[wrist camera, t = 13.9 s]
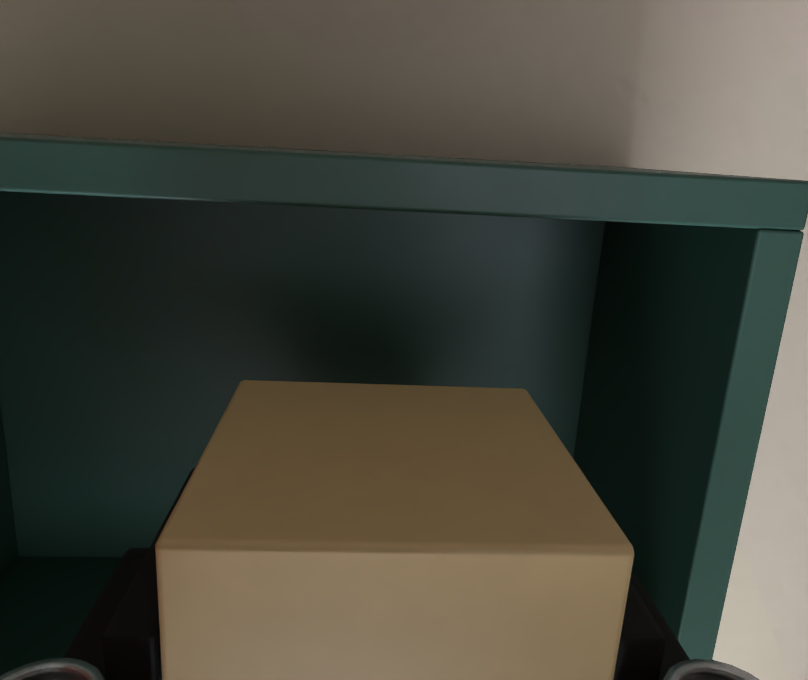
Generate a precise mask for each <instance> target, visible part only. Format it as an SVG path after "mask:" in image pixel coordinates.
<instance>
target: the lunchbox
mask: <svg viewBox="0 0 808 680" xmlns="http://www.w3.org/2000/svg"><path fill="white" fill-rule="evenodd" d="M807 214H808V181H802V180H788V179H775V178H761V177H748V176H734V175H721V174H707V173H694V172H680V171H667V170H653V169H639V168H625V167H607V166H589V165H571V164H554V163H536V162H518V161H500V160H482V159H464V158H446V157H428V156H410V155H392V154H375V153H357V152H339V151H321V150H303V149H285V148H267V147H249V146H231V145H214V144H196V143H178V142H160V141H142V140H124V139H106V138H88V137H70V136H52V135H35V134H17V133H0V676H2V675H3V674H5V673H7V672H9V671H11V670H14V669H16V668H18V667H21V666H23V665H25V664H28V663H32V662H36V661H40V660H44V659H52V658H63V657H64V656H65V654H66V652H67V651H68V649H69V647H70V645H71V644H72V642H73V640H74V639H75V637H76V635H77V634H78V632H79V630H80V628H81V627H82V625H83V623H84V622H85V620H86V618H87V617H88V615H89V613H90V611H91V610H92V608H93V606H94V605H95V603H96V601H97V600H98V598H99V596H100V594H101V593H102V591H103V589H104V588H105V586H106V584H107V583H108V581H109V579H110V577H111V576H112V574H113V572H114V571H115V569H116V567H117V566H118V564H119V562H120V560H121V559H122V557H123V555H124V554H125V553H126V551H127V550H128V549H130V548H150V546H151V544H152V542H153V540H154V539H155V537H156V535H157V533H158V531H159V529H160V527H161V526H162V524H163V522H164V520H165V518H166V516H167V514H168V512H169V511H170V509H171V507H172V505H173V503H174V501H175V499H176V497H177V496H178V494H179V492H180V490H181V488H182V486H183V484H184V482H185V481H186V479H187V477H188V475H189V473H190V471H191V470H192V469H193V468H195V467H196V466H197V464H198V462H199V460H200V458H201V456H202V454H203V452H204V450H205V448H206V446H207V445H208V443H209V441H210V439H211V437H212V435H213V433H214V431H215V429H216V427H217V425H218V424H219V422H220V420H221V418H222V416H223V414H224V412H225V410H226V408H227V406H228V404H229V403H230V401H231V399H232V397H233V395H234V393H235V391H236V389H237V387H238V385H239V383H240V382H241V381H243V380H259V381H291V382H324V383H356V384H388V385H420V386H452V387H484V388H517V389H525V390H527V392H528V393H529V395H530V396H531V398H532V399H533V401H534V402H535V404H536V405H537V407H538V408H539V409H540V411H541V412H542V414H543V415H544V417H545V418H546V420H547V421H548V423H549V424H550V426H551V427H552V429H553V430H554V431H555V433H556V434H557V436H558V437H559V439H560V440H561V442H562V443H563V445H564V446H565V448H566V449H567V451H568V452H569V454H570V455H571V456H572V458H573V459H574V461H575V462H576V464H577V465H578V467H579V468H580V470H581V471H582V473H583V474H584V476H585V477H586V479H587V480H588V481H589V483H590V484H591V486H592V487H593V489H594V490H595V492H596V493H597V495H598V496H599V498H600V499H601V501H602V502H603V503H604V505H605V506H606V508H607V509H608V511H609V512H610V514H611V515H612V517H613V518H614V520H615V521H616V523H617V524H618V526H619V527H620V528H621V530H622V531H623V533H624V534H625V536H626V537H627V539H628V540H629V542H630V543H631V545H632V546H633V550H634V559H633V565H632V570H633V571H634V573H635V574H636V576H637V577H638V579H639V580H640V582H641V584H642V585H643V587H644V588H645V590H646V591H647V593H648V594H649V596H650V598H651V599H652V601H653V602H654V604H655V605H656V607H657V609H658V610H659V612H660V613H661V615H662V616H663V618H664V619H665V621H666V623H667V624H668V626H669V627H670V629H671V630H672V632H673V634H674V635H675V637H676V638H677V640H678V641H679V643H680V644H681V646H682V648H683V649H684V651H685V652H686V654H687V655H688V657H689V658H690V660H691V659H706V660H712V657H713V653H714V648H715V643H716V639H717V634H718V629H719V625H720V620H721V615H722V611H723V606H724V601H725V597H726V592H727V588H728V583H729V578H730V574H731V569H732V564H733V560H734V555H735V550H736V546H737V541H738V536H739V532H740V527H741V523H742V518H743V513H744V509H745V504H746V499H747V495H748V490H749V485H750V481H751V476H752V471H753V467H754V462H755V457H756V453H757V448H758V444H759V439H760V434H761V430H762V425H763V420H764V416H765V411H766V406H767V402H768V397H769V392H770V388H771V383H772V379H773V374H774V369H775V365H776V360H777V355H778V351H779V346H780V341H781V337H782V332H783V327H784V323H785V318H786V313H787V309H788V304H789V300H790V295H791V290H792V286H793V281H794V276H795V272H796V267H797V262H798V258H799V253H800V248H801V244H802V239H803V232H801V231H800V230H803V229H804V227H805V223H806V218H807Z"/></svg>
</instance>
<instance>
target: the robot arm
mask: <svg viewBox="0 0 808 680" xmlns="http://www.w3.org/2000/svg"><path fill="white" fill-rule="evenodd" d="M194 469H195V468H193V469H192V470H191V471H190V473H189V475H188V477H187V479H186V481H185V482H184V484H183V486H182V488H181V490H180V492H179V494H178V496H177V497H176V499H175V501H174V503H173V505H172V507H171V509H170V511H169V512H168V514H167V516H166V518H165V520H164V522H163V524H162V526H161V527H160V529H159V531H158V533H157V535H156V537H155V539H154V540H153V542H152V544H151V546H150V548H130V549H128V550H127V551H126V553H125V554H124V555H123V557H122V559H121V560H120V562H119V564H118V566H117V567H116V569H115V571H114V572H113V574H112V576H111V577H110V579H109V581H108V583H107V584H106V586H105V588H104V589H103V591H102V593H101V594H100V596H99V598H98V600H97V601H96V603H95V605H94V606H93V608H92V610H91V611H90V613H89V615H88V617H87V618H86V620H85V622H84V623H83V625H82V627H81V628H80V630H79V632H78V634H77V635H76V637H75V639H74V640H73V642H72V644H71V645H70V647H69V649H68V651H67V652H66V654H65V656H64V657H63V658H52V659H44V660H40V661H36V662H32V663H28V664H25V665H23V666H21V667H18V668H16V669H14V670H11V671H9V672H7V673H5V674H3V675H2V676H0V680H162V666H161V647H160V628H159V609H158V590H157V571H156V552H155V545H156V542H157V540H158V538H159V536H160V534H161V532H162V530H163V529H164V527H165V525H166V523H167V521H168V519H169V517H170V515H171V513H172V511H173V509H174V508H175V506H176V504H177V502H178V500H179V498H180V496H181V494H182V492H183V490H184V488H185V487H186V485H187V483H188V481H189V479H190V477H191V475H192V473H193V471H194ZM613 680H759V679H758V678H756V677H755V676H753V675H751V674H750V673H748V672H746V671H743V670H741V669H739V668H737V667H734V666H732V665H729V664H726V663H722V662H718V661H714V660H706V659H691V660H690V658H689V657H688V655H687V654H686V652H685V651H684V649H683V648H682V646H681V644H680V643H679V641H678V640H677V638H676V637H675V635H674V634H673V632H672V630H671V629H670V627H669V626H668V624H667V623H666V621H665V619H664V618H663V616H662V615H661V613H660V612H659V610H658V609H657V607H656V605H655V604H654V602H653V601H652V599H651V598H650V596H649V594H648V593H647V591H646V590H645V588H644V587H643V585H642V584H641V582H640V580H639V579H638V577H637V576H636V574H635V573H634V571H633V570H632V571H631V577H630V583H629V589H628V595H627V601H626V607H625V613H624V619H623V625H622V631H621V637H620V642H619V648H618V654H617V660H616V666H615V672H614V678H613Z"/></svg>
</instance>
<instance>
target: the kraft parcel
mask: <svg viewBox="0 0 808 680" xmlns="http://www.w3.org/2000/svg"><path fill="white" fill-rule="evenodd" d="M155 552H156V571H157V590H158V609H159V628H160V647H161V666H162V680H613V678H614V672H615V666H616V660H617V654H618V648H619V642H620V637H621V631H622V625H623V619H624V613H625V607H626V601H627V595H628V589H629V583H630V577H631V571H632V565H633V559H634V550H633V546H632V545H631V543H630V542H629V540H628V539H627V537H626V536H625V534H624V533H623V531H622V530H621V528H620V527H619V526H618V524H617V523H616V521H615V520H614V518H613V517H612V515H611V514H610V512H609V511H608V509H607V508H606V506H605V505H604V503H603V502H602V501H601V499H600V498H599V496H598V495H597V493H596V492H595V490H594V489H593V487H592V486H591V484H590V483H589V481H588V480H587V479H586V477H585V476H584V474H583V473H582V471H581V470H580V468H579V467H578V465H577V464H576V462H575V461H574V459H573V458H572V456H571V455H570V454H569V452H568V451H567V449H566V448H565V446H564V445H563V443H562V442H561V440H560V439H559V437H558V436H557V434H556V433H555V431H554V430H553V429H552V427H551V426H550V424H549V423H548V421H547V420H546V418H545V417H544V415H543V414H542V412H541V411H540V409H539V408H538V407H537V405H536V404H535V402H534V401H533V399H532V398H531V396H530V395H529V393H528V392H527V390H525V389H517V388H484V387H452V386H420V385H388V384H356V383H324V382H291V381H259V380H243V381H241V382H240V383H239V385H238V387H237V389H236V391H235V393H234V395H233V397H232V399H231V401H230V403H229V404H228V406H227V408H226V410H225V412H224V414H223V416H222V418H221V420H220V422H219V424H218V425H217V427H216V429H215V431H214V433H213V435H212V437H211V439H210V441H209V443H208V445H207V446H206V448H205V450H204V452H203V454H202V456H201V458H200V460H199V462H198V464H197V466H196V467H195V469H194V471H193V473H192V475H191V477H190V479H189V481H188V483H187V485H186V487H185V488H184V490H183V492H182V494H181V496H180V498H179V500H178V502H177V504H176V506H175V508H174V509H173V511H172V513H171V515H170V517H169V519H168V521H167V523H166V525H165V527H164V529H163V530H162V532H161V534H160V536H159V538H158V540H157V542H156V545H155Z"/></svg>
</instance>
